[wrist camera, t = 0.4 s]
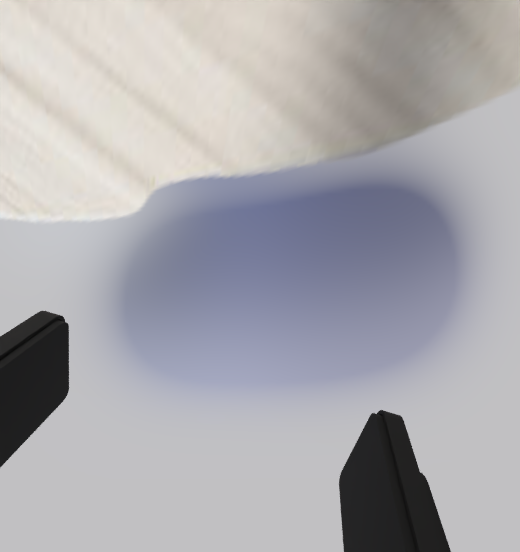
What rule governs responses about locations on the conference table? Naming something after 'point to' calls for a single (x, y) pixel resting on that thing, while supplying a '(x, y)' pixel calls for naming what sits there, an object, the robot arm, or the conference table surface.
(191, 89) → the conference table surface
